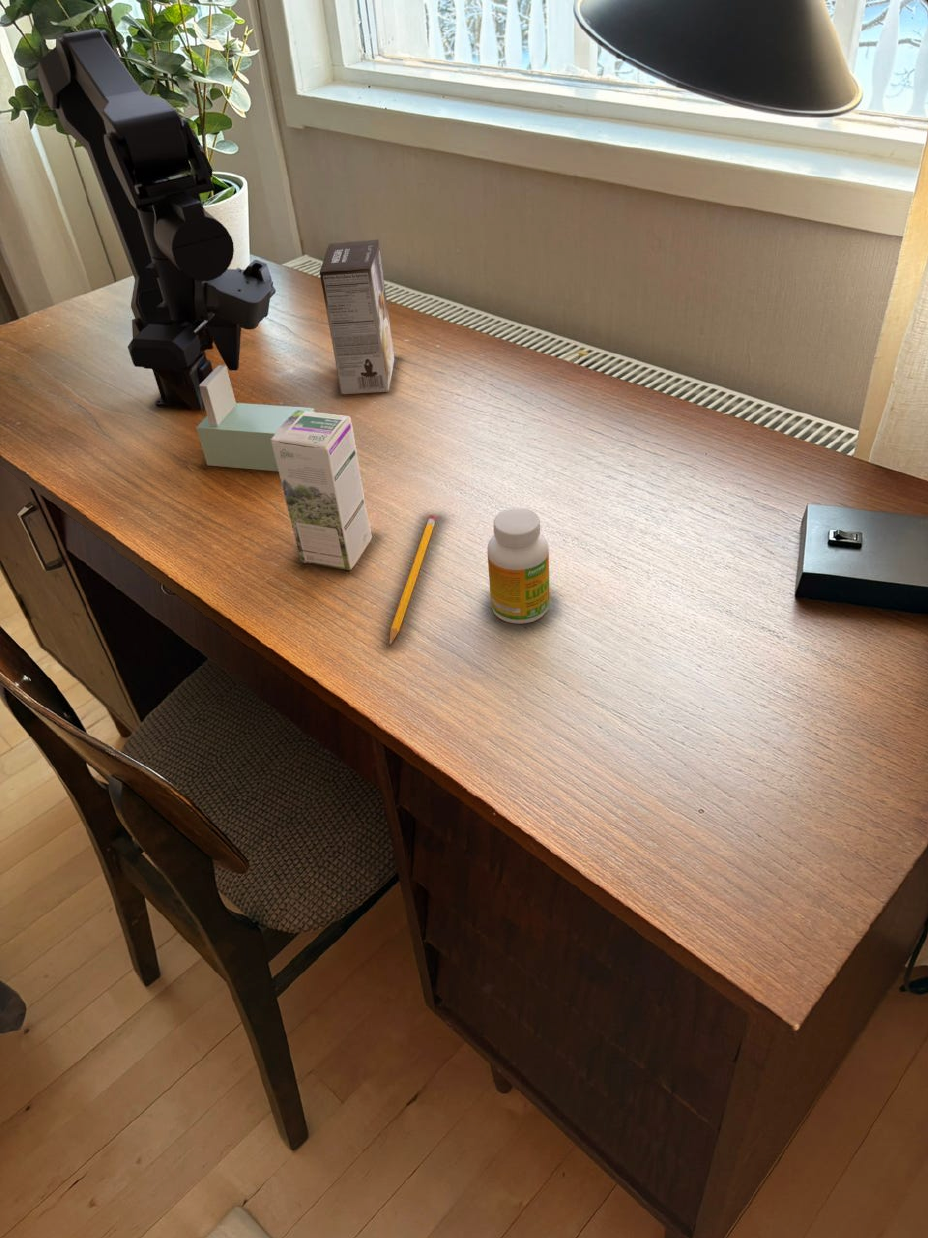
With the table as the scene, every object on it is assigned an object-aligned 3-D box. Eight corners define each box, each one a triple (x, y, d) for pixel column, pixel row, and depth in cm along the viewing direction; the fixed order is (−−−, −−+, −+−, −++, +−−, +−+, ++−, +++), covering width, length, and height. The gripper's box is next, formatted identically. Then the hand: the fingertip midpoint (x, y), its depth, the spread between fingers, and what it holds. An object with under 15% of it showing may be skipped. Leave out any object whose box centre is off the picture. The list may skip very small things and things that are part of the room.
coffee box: (348, 362, 126) (328, 241, 116) (395, 359, 126) (379, 237, 115) (340, 395, 120) (318, 270, 109) (390, 392, 119) (372, 266, 109)
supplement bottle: (531, 632, 84) (529, 546, 78) (480, 614, 86) (473, 528, 80) (559, 597, 87) (559, 511, 81) (509, 581, 90) (505, 496, 83)
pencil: (436, 520, 98) (436, 515, 98) (394, 647, 84) (393, 641, 84) (429, 520, 98) (428, 514, 98) (385, 646, 84) (385, 641, 84)
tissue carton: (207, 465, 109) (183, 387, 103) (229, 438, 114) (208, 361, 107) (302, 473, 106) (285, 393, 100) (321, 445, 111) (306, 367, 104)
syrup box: (374, 538, 96) (352, 411, 87) (350, 573, 92) (325, 445, 83) (323, 530, 98) (297, 405, 88) (298, 565, 94) (267, 438, 84)
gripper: (209, 290, 87) (247, 438, 97) (287, 217, 100) (313, 354, 110) (103, 285, 89) (151, 430, 100) (193, 215, 102) (227, 349, 113)
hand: (216, 389), depth 106 cm, fingers open, 9 cm apart
